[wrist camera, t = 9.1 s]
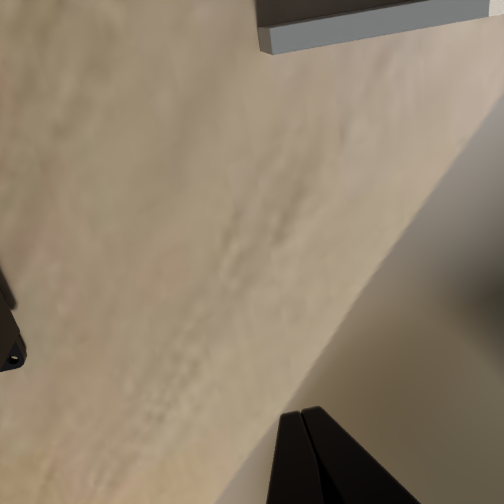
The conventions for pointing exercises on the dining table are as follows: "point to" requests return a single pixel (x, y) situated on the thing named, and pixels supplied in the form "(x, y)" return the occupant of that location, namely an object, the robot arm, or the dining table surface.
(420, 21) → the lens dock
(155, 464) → the dining table surface
